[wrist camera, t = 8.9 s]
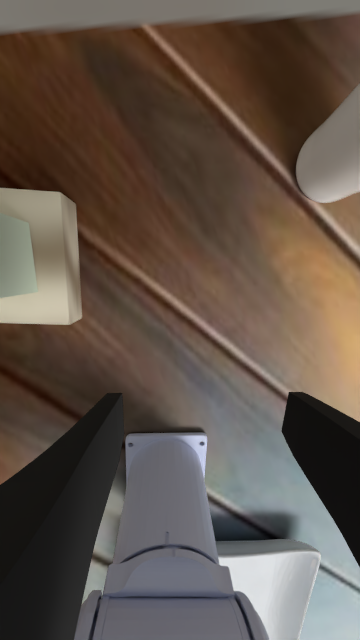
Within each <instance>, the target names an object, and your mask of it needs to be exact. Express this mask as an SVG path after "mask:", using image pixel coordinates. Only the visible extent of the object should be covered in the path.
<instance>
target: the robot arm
mask: <svg viewBox="0 0 360 640" xmlns="http://www.w3.org/2000/svg"><path fill="white" fill-rule="evenodd" d="M282 433H283V435H284V437H285V440H286V442H287V444H288V446H289V448H290V450H291V452H292V454H293V456H294V458H295V459H296V461H297V463H298V464H299V466H300V467H301V469H302V471H303V472H304V474H305V475H306V477H307V479H308V480H309V482H310V483H311V485H312V486H313V488H314V490H315V491H316V493H317V494H318V496H319V498H320V499H321V501H322V502H323V504H324V505H325V507H326V509H327V510H328V512H329V513H330V515H331V517H332V518H333V520H334V521H335V523H336V525H337V527H338V528H339V530H340V532H341V533H342V535H343V537H344V539H345V541H346V542H347V544H348V546H349V548H350V550H351V552H352V554H353V556H354V557H355V559H356V561H357V563H358V565H359V567H360V422H358V421H356V420H355V419H353V418H351V417H349V416H347V415H345V414H344V413H342V412H340V411H338V410H336V409H334V408H333V407H331V406H329V405H327V404H325V403H323V402H322V401H320V400H318V399H316V398H314V397H312V396H310V395H308V394H306V393H303V392H289V395H288V400H287V405H286V410H285V415H284V421H283V426H282ZM123 437H124V421H123V400H122V393H107V394H106V395H105V396H104V397H103V398H102V399H101V400H100V401H99V402H98V403H97V404H96V405H95V406H94V407H93V408H92V409H91V410H90V411H89V412H88V413H87V414H86V415H85V416H84V417H83V418H81V419H80V420H79V421H78V422H77V423H76V424H75V425H74V426H73V427H72V428H71V429H70V430H69V431H68V432H66V433H65V434H64V435H63V436H62V437H61V438H60V439H58V440H57V441H56V442H55V443H54V444H53V445H52V446H50V447H49V448H48V449H47V450H46V451H45V452H43V453H42V454H41V455H40V456H38V457H37V458H36V459H35V460H33V461H32V462H31V463H29V464H28V465H27V466H25V467H24V468H23V469H22V470H20V471H19V472H18V473H16V474H15V475H14V476H12V477H11V478H9V479H8V480H7V481H5V482H4V483H3V484H1V485H0V640H270V639H269V636H268V634H267V631H266V629H265V627H264V624H263V622H262V620H261V618H260V616H259V615H258V613H257V612H256V610H255V609H254V607H253V605H252V603H251V602H250V600H249V598H248V597H247V596H246V595H245V594H244V593H243V592H240V591H234V589H233V584H232V580H231V575H230V570H229V567H228V566H221V565H220V564H219V559H218V553H217V548H216V542H215V537H214V531H213V526H212V520H211V515H210V509H209V504H208V498H207V493H206V487H205V482H204V476H205V462H206V449H207V435H206V434H205V433H202V432H200V433H135V434H128V435H127V436H126V440H125V443H126V493H125V498H124V504H123V509H122V514H121V520H120V525H119V530H118V536H117V541H116V547H115V552H114V557H113V563H112V564H110V565H109V566H108V571H107V576H106V581H105V586H104V591H103V597H102V592H101V590H93V591H92V592H91V593H90V594H89V596H88V598H87V599H86V600H85V601H84V603H83V604H82V599H83V594H84V590H85V585H86V581H87V576H88V572H89V567H90V563H91V558H92V553H93V549H94V545H95V541H96V537H97V534H98V530H99V526H100V523H101V520H102V516H103V513H104V510H105V506H106V503H107V500H108V496H109V493H110V490H111V486H112V483H113V479H114V476H115V473H116V469H117V466H118V462H119V458H120V453H121V448H122V443H123ZM202 441H203V443H200V442H202ZM129 443H133V444H129ZM101 598H102V599H101ZM81 604H82V605H81Z"/></svg>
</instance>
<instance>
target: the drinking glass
mask: <svg viewBox="0 0 360 640" xmlns="http://www.w3.org/2000/svg"><path fill="white" fill-rule="evenodd" d="M296 178H297V182H298V185H299V187H300V189H301V191H302V192H303V193H304V194H305V195H306V196H307V197H308V198H309V199H311V200H313V201H315V202H319V203H330V202H335V201H338V200H340V199H343V198H345V197H348V196H350V195H352V194H355V193H358V192H360V83H359V84H358V85H357V86H356V87H355V88H354V90H353V91H352V92H351V93H350V94H349V95H348V96H347V97H346V99H345V100H344V101H343V102H342V103H341V104H340V105H339V106H338V107H337V109H336V110H335V111H334V112H333V113H332V114H331V115H330V116H329V117H328V118H327V120H326V121H325V122H323V123H322V124H321V125H320V126H319V127H318V128H317V129H316V130H315V131H314V132H313V133H312V134H311V135H310V136H309V137H308V139H307V140H306V141H305V143H304V144H303V146H302V148H301V150H300V152H299V155H298V158H297V163H296Z"/></svg>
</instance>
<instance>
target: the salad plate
mask: <svg viewBox="0 0 360 640" xmlns="http://www.w3.org/2000/svg"><path fill="white" fill-rule="evenodd" d="M215 542H216V548H217V553H218V559H219V564H220V565H221V566H228V567H229V570H230V575H231V580H232V584H233V589H234V591H240V592H243V593H244V594H245V595H246V596H247V597H248V598H249V600H250V602H251V603H252V605H253V607H254V609H255V610H256V612H257V613H258V615H259V616H260V618H261V620H262V622H263V624H264V627H265V629H266V631H267V634H268V636H269V639H270V640H299V637H300V634H301V630H302V626H303V622H304V618H305V614H306V611H307V607H308V603H309V600H310V596H311V593H312V590H313V586H314V583H315V579H316V576H317V572H318V568H319V564H320V559H321V554H320V552H319V551H318V550H316V549H315V548H313V547H312V546H310V545H308V544H306V543H303V542H300V541H296V540H288V539H273V540H255V541H215Z"/></svg>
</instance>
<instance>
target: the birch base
mask: <svg viewBox="0 0 360 640" xmlns="http://www.w3.org/2000/svg"><path fill="white" fill-rule="evenodd" d="M0 213H2V214H5V215H8V216H11V217H14V218H17V219H19V220H22V221H25V222H28V223H29V228H30V236H31V243H32V251H33V258H34V266H35V273H36V281H37V288H38V292H35V293H29V294H23V295H17V296H10V297H4V298H0V323H21V324H58V325H70V324H72V323H74V322H76V321H77V320H79V319H81V318H82V307H81V289H80V270H79V252H78V234H77V215H76V204H75V203H74V202H73V201H71V200H70V199H69V198H67V197H66V196H65V195H63V194H62V193H61V192H52V191H38V190H24V189H10V188H0Z"/></svg>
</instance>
